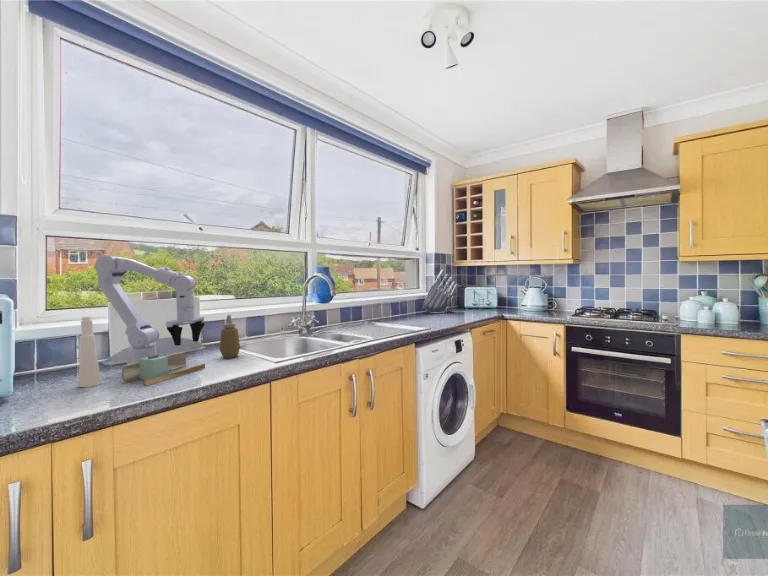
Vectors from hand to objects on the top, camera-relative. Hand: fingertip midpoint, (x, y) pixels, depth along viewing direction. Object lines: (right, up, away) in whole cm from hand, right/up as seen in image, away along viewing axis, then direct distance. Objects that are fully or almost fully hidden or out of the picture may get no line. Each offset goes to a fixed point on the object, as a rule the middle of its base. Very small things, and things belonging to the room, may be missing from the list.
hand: (186, 343), depth 128 cm
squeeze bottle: (+8, -9, +18) cm, 21 cm away
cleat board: (-2, -10, -8) cm, 13 cm away
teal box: (-4, -10, -12) cm, 16 cm away
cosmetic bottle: (-21, -11, -19) cm, 30 cm away
